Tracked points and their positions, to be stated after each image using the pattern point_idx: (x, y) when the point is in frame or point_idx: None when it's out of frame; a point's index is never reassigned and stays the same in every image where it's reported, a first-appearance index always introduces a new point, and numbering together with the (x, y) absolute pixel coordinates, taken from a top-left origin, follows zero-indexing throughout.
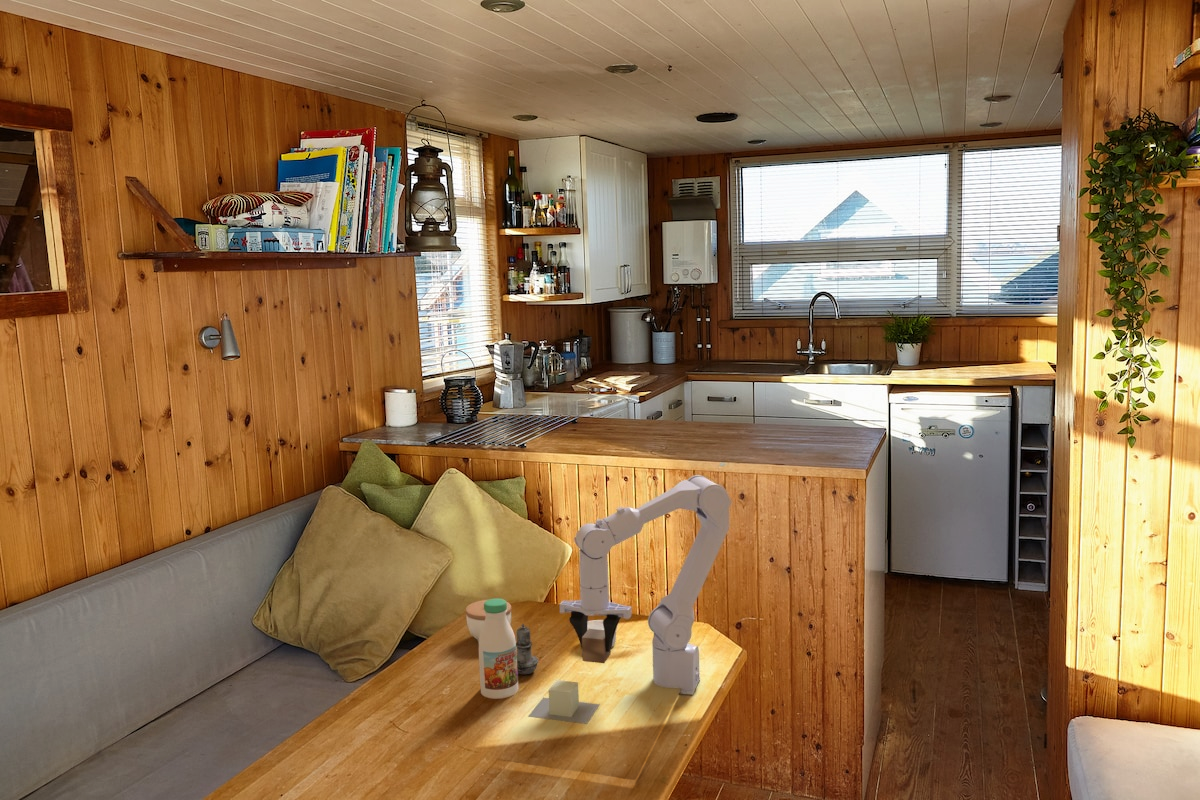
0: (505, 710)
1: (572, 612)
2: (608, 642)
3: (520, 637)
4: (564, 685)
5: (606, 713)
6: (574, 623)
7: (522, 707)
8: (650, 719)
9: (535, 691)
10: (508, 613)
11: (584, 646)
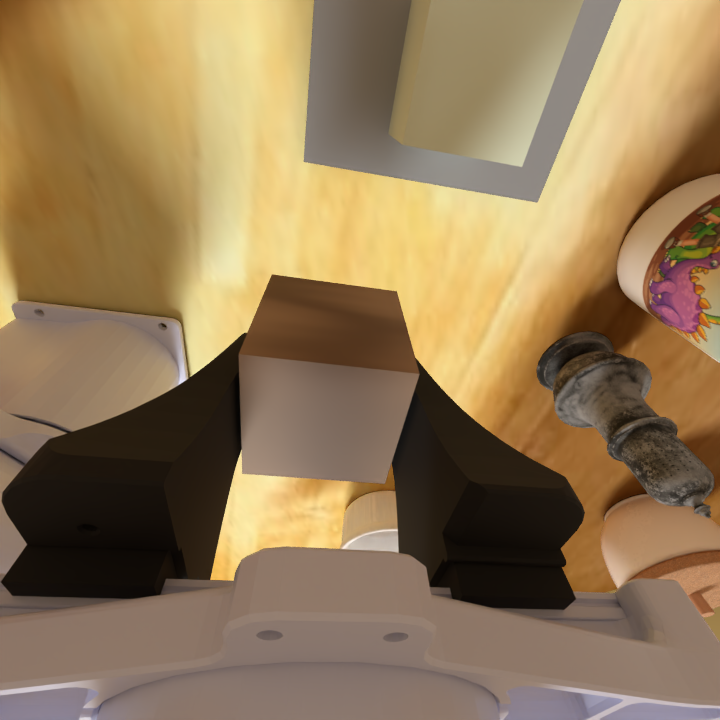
0: (691, 107)
1: (559, 594)
2: (218, 360)
3: (688, 453)
4: (479, 89)
5: (270, 122)
6: (514, 467)
7: (615, 144)
8: (64, 79)
9: (551, 277)
10: (635, 577)
11: (392, 333)
